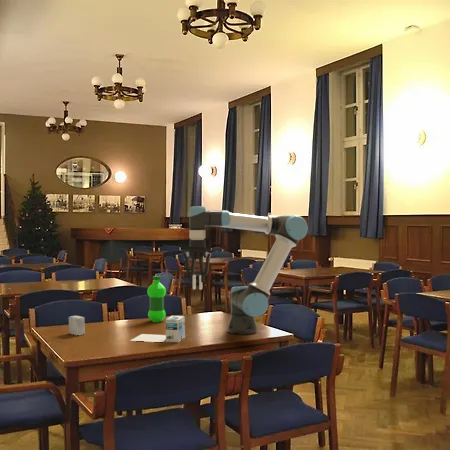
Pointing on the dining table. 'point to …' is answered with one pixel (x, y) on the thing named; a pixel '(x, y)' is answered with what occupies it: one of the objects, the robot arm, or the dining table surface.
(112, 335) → the dining table surface
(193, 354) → the dining table surface
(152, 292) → the plastic bottle
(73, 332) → the medicine box
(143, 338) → the mat
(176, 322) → the light bulb box
